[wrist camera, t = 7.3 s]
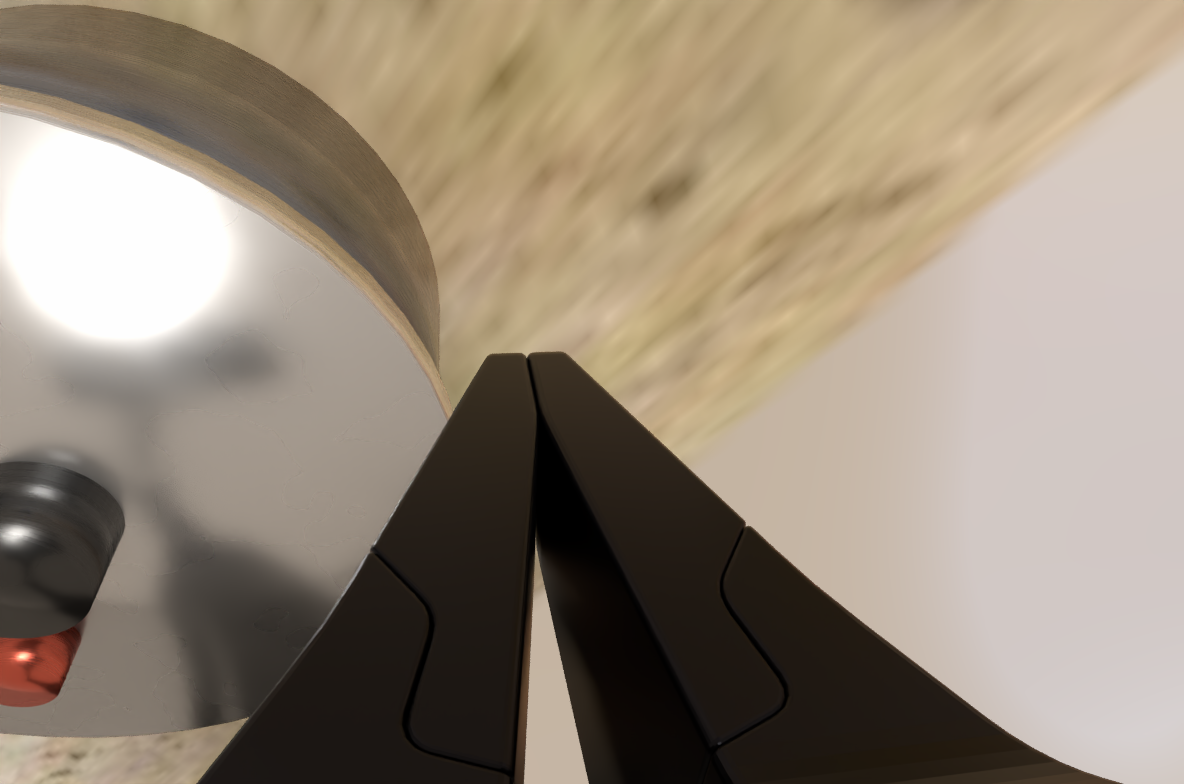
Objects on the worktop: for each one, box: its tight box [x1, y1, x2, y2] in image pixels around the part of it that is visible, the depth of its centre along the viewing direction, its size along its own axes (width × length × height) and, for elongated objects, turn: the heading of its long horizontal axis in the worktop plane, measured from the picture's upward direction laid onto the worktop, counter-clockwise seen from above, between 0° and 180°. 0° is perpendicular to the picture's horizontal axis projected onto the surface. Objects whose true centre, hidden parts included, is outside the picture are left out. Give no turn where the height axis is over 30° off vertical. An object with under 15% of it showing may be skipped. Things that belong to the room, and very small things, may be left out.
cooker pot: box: [0, 5, 440, 373], centre depth 17 cm, size 20×15×7 cm
